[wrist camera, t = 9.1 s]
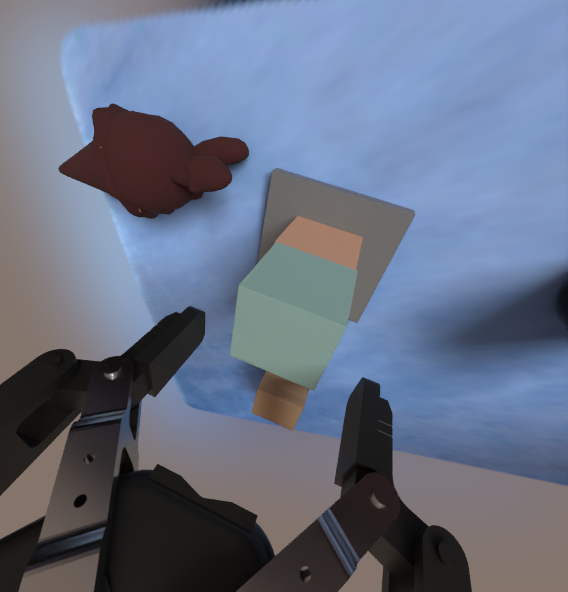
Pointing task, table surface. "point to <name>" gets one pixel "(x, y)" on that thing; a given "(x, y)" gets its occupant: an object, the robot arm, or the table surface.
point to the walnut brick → (279, 400)
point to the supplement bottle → (563, 306)
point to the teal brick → (292, 314)
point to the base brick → (322, 241)
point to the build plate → (338, 224)
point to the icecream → (151, 162)
